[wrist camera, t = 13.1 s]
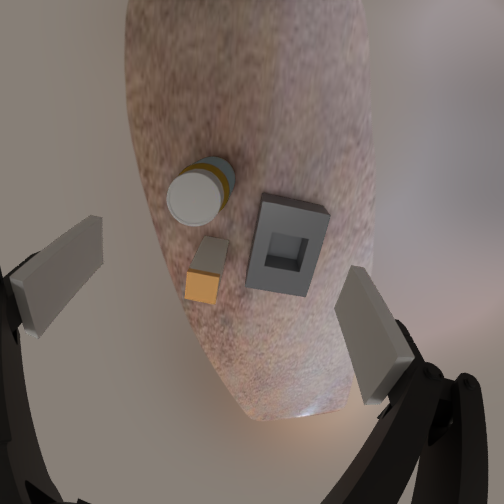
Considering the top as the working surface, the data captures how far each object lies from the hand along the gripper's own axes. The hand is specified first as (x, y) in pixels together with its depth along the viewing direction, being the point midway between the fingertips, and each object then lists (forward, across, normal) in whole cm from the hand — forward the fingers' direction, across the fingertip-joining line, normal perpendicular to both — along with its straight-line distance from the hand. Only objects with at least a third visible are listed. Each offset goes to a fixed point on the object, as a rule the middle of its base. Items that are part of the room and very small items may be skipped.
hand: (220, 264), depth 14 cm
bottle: (+33, -5, -3) cm, 33 cm away
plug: (+32, -3, -15) cm, 36 cm away
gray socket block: (+32, +8, -11) cm, 35 cm away
